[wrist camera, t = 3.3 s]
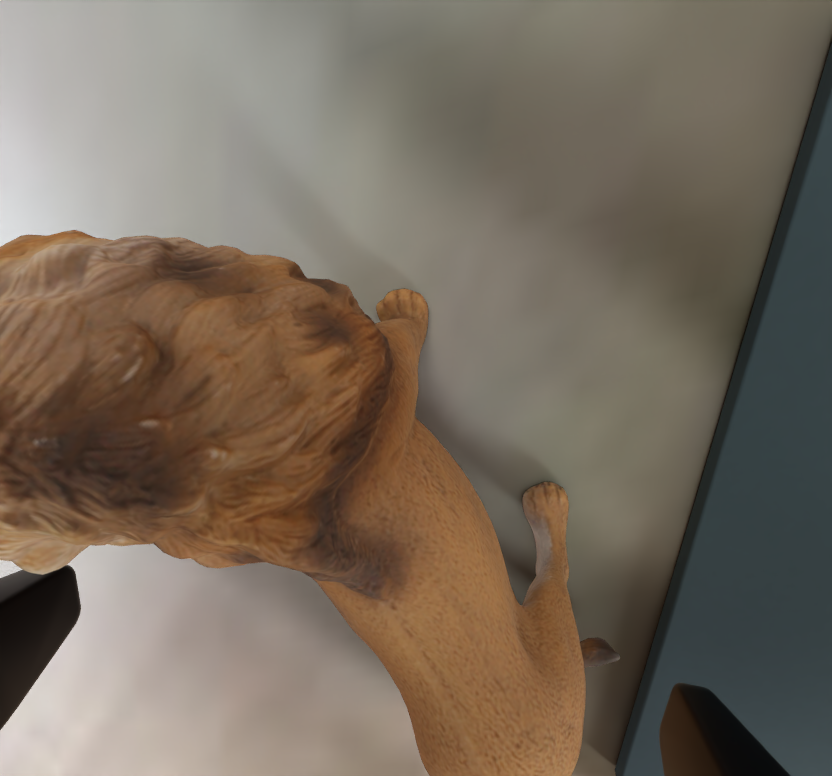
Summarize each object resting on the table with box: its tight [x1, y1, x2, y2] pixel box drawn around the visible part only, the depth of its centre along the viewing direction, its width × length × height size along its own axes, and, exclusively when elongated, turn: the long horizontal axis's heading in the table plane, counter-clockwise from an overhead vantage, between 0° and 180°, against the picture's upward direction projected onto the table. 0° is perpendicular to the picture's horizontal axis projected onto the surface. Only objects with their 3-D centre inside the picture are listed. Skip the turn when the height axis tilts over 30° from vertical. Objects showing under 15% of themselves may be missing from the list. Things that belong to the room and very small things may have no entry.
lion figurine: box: [0, 230, 620, 776], centre depth 10 cm, size 15×5×9 cm, turn 43°
